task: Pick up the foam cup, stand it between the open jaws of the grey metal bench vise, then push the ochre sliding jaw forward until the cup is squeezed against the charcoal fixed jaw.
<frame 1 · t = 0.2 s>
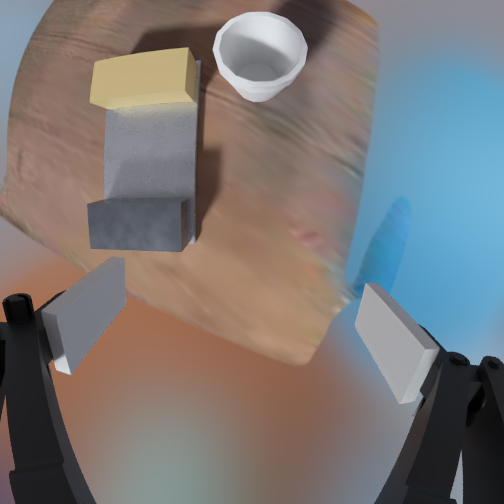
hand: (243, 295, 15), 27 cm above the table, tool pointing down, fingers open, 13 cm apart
sliding jaw: (143, 79, 31), point 5 cm above the table, slide at 2.5 cm
vise: (150, 162, 39), on the table
foam cup: (257, 82, 36), on the table
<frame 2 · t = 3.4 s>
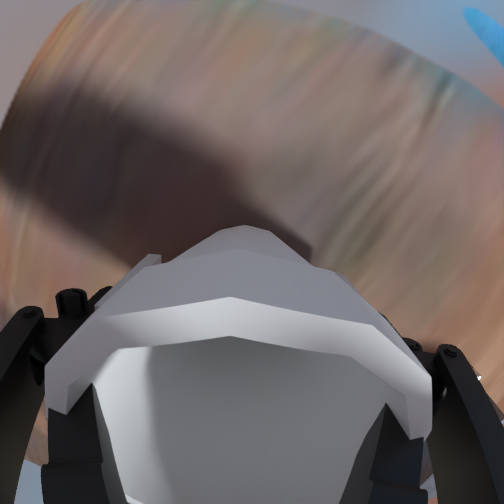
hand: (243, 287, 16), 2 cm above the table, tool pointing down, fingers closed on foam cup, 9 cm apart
vise: (356, 433, 22), on the table
foam cup: (244, 275, 18), on the table, touching gripper
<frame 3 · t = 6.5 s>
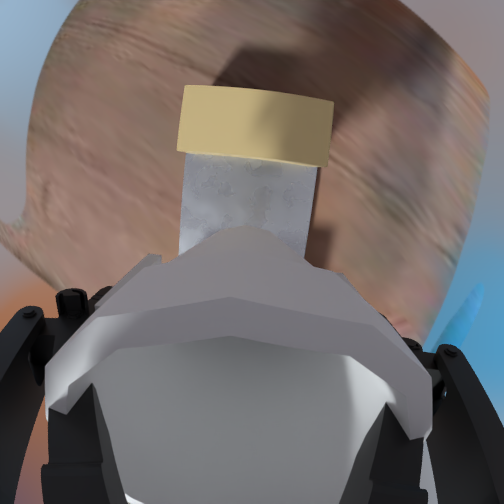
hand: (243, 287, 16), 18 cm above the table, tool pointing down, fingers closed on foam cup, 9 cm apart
sliding jaw: (255, 127, 26), point 5 cm above the table, slide at 2.5 cm
vise: (243, 234, 33), on the table
foam cup: (244, 275, 18), point 16 cm above the table, touching gripper
when the fingers open (5 cm above the table, at t = 9.4 s): foam cup drops 2 cm, resting on vise.
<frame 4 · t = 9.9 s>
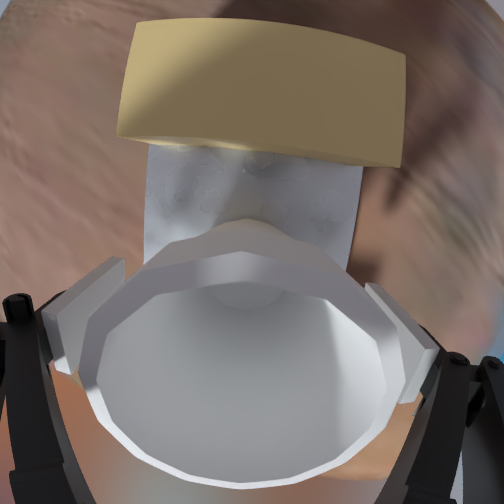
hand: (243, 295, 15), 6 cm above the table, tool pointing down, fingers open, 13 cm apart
sliding jaw: (264, 93, 14), point 5 cm above the table, slide at 2.5 cm
vise: (243, 272, 21), on the table
foam cup: (245, 264, 20), point 1 cm above the table, touching vise
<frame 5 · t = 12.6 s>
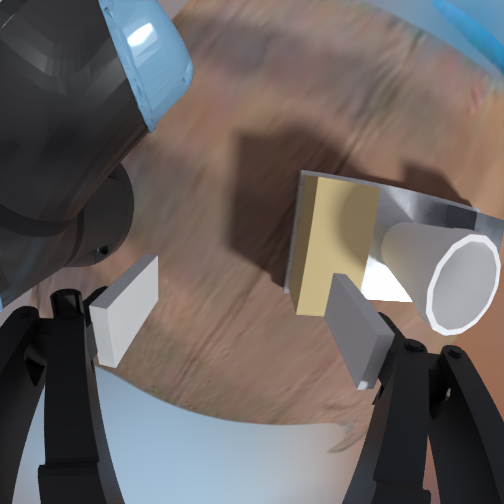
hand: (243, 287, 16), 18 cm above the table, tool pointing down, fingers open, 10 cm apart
sliding jaw: (330, 244, 29), point 5 cm above the table, slide at 2.5 cm
vise: (404, 245, 34), on the table
foam cup: (402, 246, 32), point 1 cm above the table, touching vise
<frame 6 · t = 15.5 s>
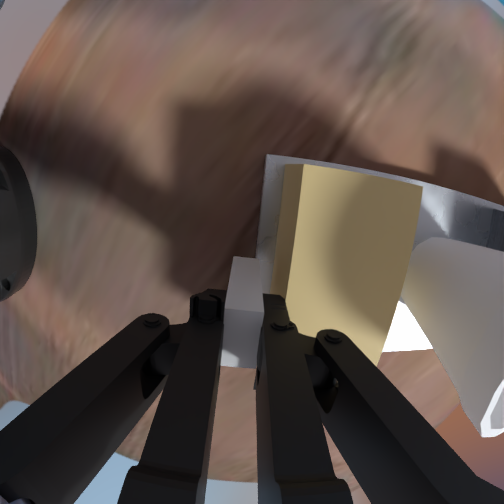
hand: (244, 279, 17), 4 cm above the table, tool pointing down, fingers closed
sliding jaw: (329, 286, 16), point 5 cm above the table, slide at 3.2 cm, touching gripper
vise: (430, 270, 21), on the table
foam cup: (430, 274, 20), point 1 cm above the table, touching vise
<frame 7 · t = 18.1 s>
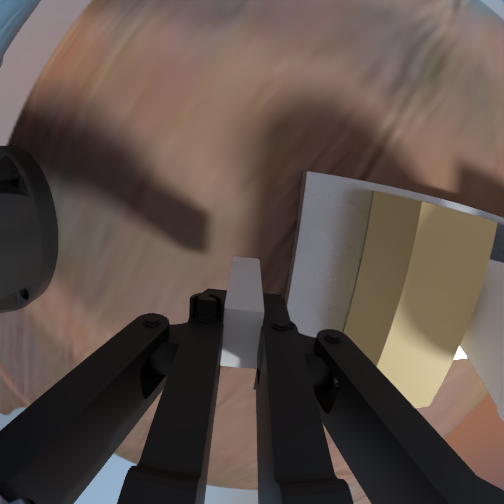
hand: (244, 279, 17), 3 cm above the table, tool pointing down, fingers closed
sliding jaw: (410, 305, 16), point 5 cm above the table, slide at 6.5 cm
vise: (451, 285, 21), on the table
foam cup: (462, 290, 20), point 1 cm above the table, touching vise
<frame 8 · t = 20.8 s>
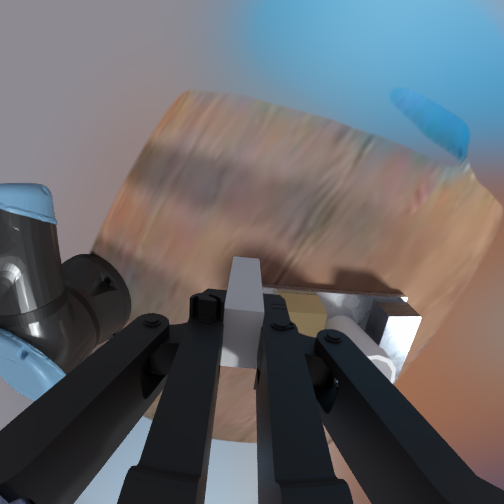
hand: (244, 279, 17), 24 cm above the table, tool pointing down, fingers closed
sliding jaw: (293, 342, 41), point 5 cm above the table, slide at 6.5 cm
vise: (333, 328, 46), on the table
foam cup: (337, 332, 45), point 1 cm above the table, touching vise
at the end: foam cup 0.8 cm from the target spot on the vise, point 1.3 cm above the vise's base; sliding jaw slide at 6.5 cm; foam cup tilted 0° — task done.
